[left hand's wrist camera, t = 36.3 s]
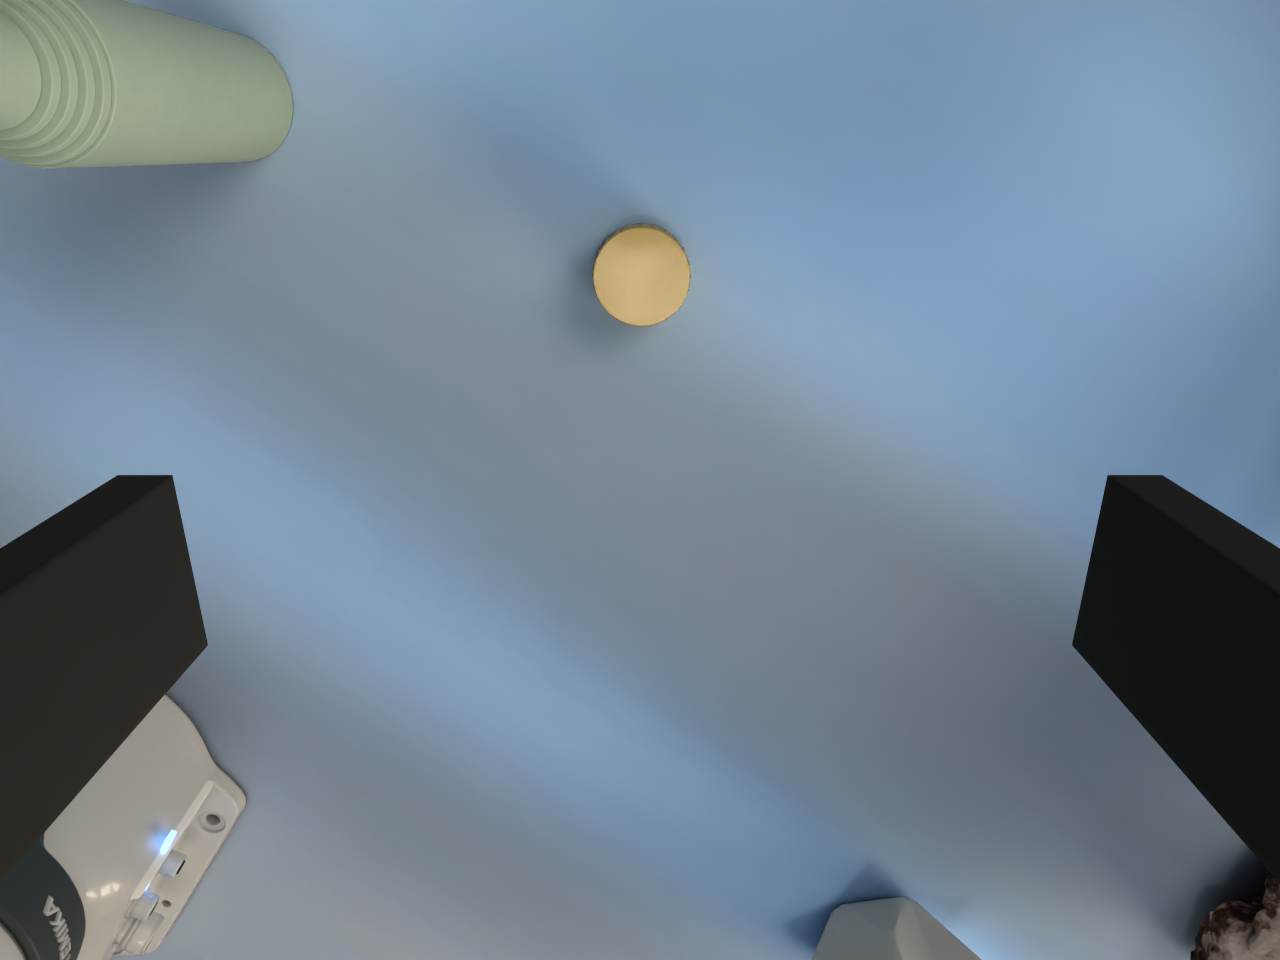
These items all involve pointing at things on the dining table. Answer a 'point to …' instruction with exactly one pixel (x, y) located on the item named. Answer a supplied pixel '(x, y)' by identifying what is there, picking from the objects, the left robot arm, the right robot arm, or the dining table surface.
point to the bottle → (133, 88)
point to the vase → (888, 933)
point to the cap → (641, 275)
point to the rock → (1243, 928)
